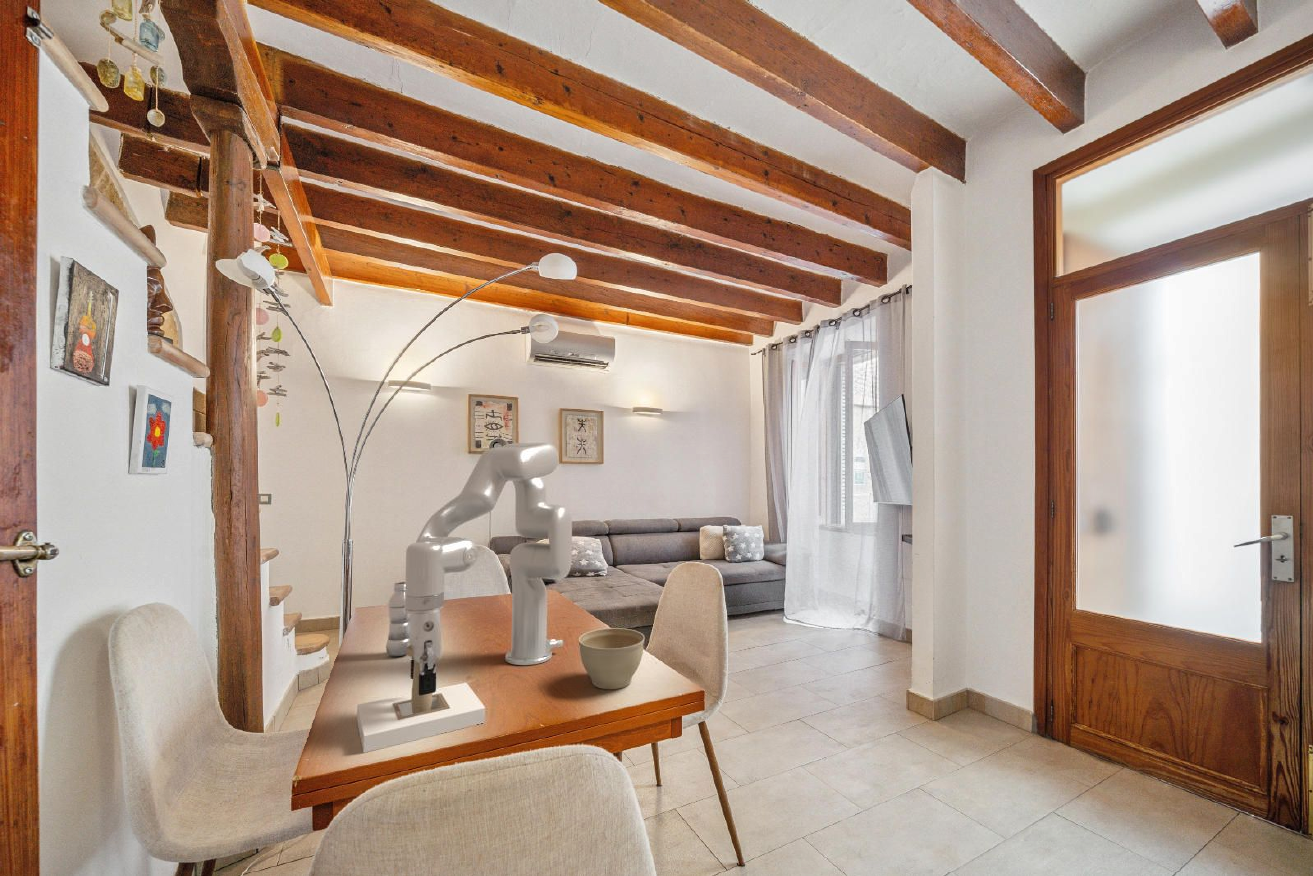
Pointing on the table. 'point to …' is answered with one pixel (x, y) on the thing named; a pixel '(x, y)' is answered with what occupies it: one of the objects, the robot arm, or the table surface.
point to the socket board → (417, 717)
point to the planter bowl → (611, 656)
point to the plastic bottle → (398, 623)
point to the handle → (418, 701)
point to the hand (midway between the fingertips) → (422, 685)
